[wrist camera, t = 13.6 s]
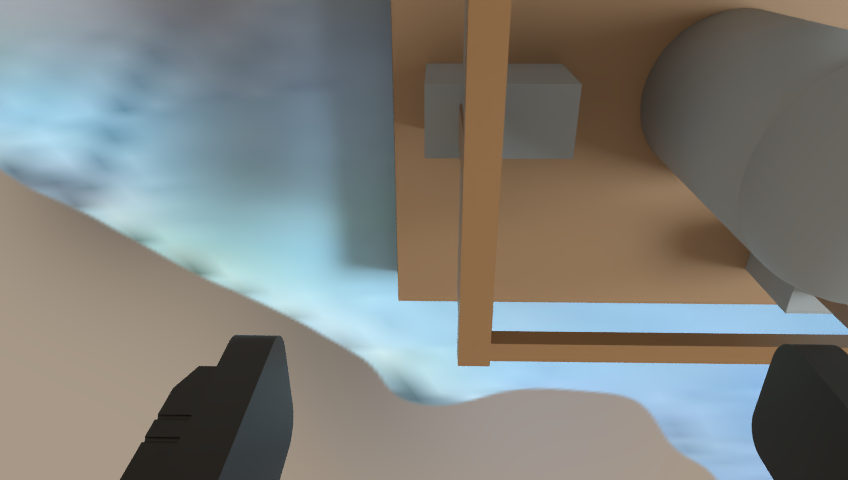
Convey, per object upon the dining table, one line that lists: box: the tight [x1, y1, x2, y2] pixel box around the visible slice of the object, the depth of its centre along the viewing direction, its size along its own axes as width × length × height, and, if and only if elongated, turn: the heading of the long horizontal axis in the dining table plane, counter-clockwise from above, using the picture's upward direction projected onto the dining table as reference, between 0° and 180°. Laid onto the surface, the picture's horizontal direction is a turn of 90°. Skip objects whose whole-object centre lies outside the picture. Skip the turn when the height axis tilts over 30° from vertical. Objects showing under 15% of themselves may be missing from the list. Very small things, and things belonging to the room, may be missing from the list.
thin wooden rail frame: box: [457, 0, 848, 366], centre depth 21 cm, size 16×17×5 cm
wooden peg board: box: [391, 0, 848, 314], centre depth 22 cm, size 22×21×17 cm
